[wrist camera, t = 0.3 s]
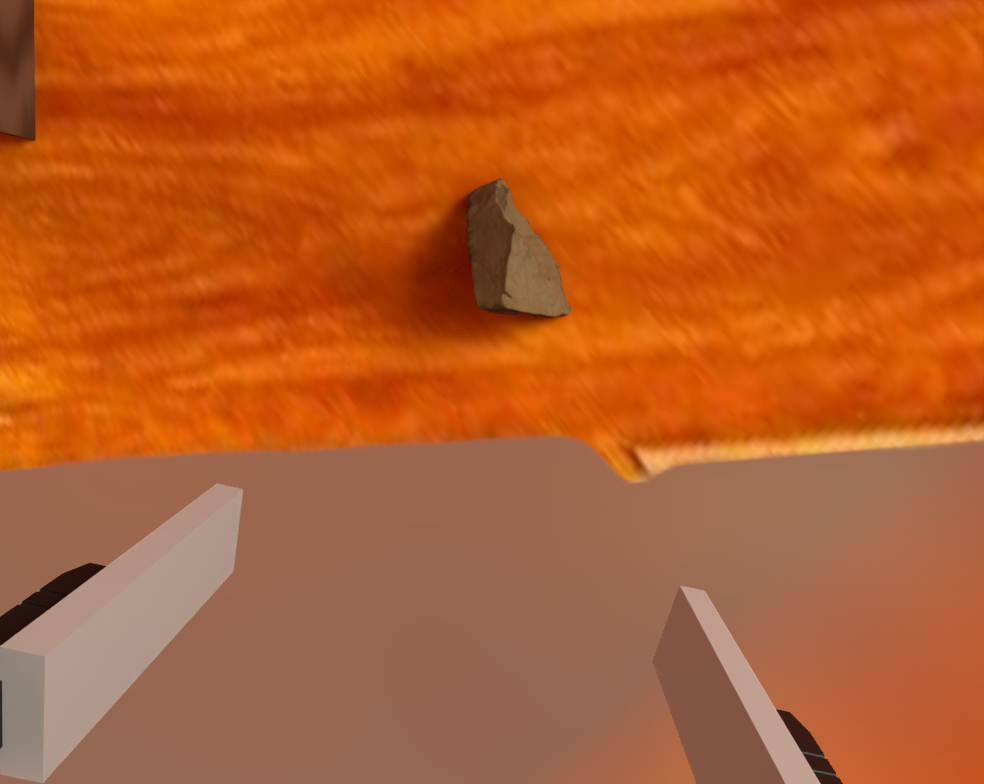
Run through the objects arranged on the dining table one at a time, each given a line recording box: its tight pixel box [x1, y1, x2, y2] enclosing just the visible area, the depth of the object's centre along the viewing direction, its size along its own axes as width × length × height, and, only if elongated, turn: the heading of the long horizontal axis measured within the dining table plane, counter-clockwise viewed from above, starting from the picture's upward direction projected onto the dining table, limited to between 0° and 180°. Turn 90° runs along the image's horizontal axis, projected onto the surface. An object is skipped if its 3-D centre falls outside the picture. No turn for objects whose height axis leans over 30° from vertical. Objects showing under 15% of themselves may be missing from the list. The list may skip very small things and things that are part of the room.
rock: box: [466, 179, 571, 318], centre depth 36 cm, size 11×9×10 cm
